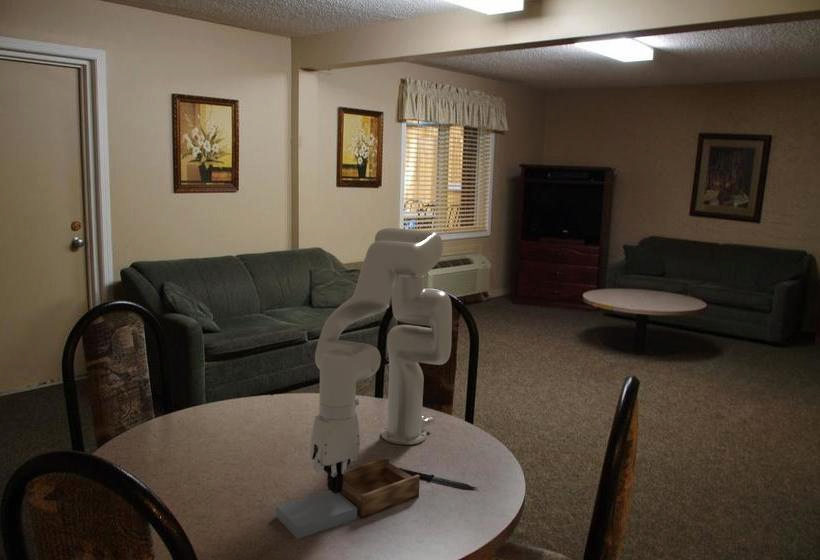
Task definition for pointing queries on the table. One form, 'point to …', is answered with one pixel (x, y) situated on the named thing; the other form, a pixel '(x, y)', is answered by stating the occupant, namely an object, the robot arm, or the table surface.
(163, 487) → the table surface
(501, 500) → the table surface
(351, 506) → the cover plate
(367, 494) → the walnut box
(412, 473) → the knife
